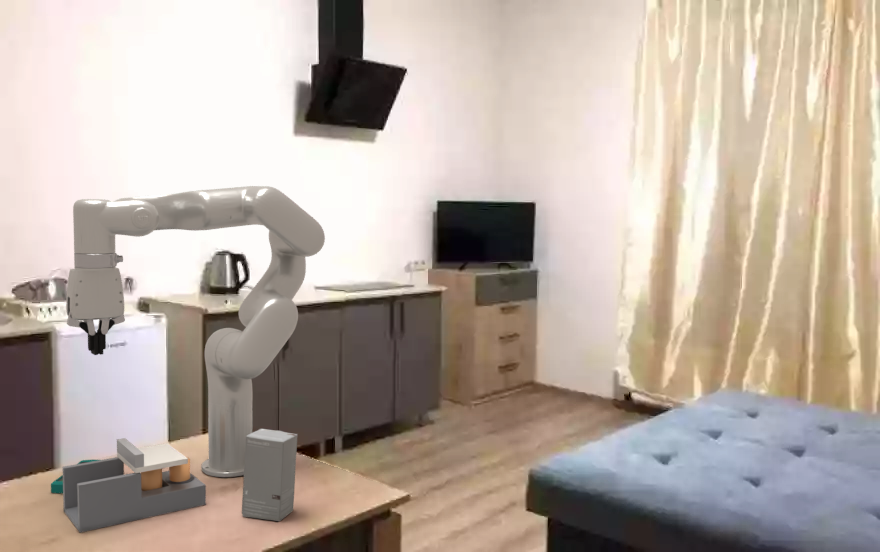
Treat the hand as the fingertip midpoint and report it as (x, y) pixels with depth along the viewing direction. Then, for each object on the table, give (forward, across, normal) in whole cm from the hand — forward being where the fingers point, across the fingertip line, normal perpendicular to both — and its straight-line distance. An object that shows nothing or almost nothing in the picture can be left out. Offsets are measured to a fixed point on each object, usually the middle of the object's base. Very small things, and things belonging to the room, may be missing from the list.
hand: (97, 353), depth 161 cm
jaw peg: (+29, -7, +11) cm, 32 cm away
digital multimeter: (+30, +1, -10) cm, 31 cm away
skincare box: (+29, -24, +28) cm, 47 cm away
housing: (+29, -3, +11) cm, 31 cm away
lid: (+20, -7, +11) cm, 24 cm away
